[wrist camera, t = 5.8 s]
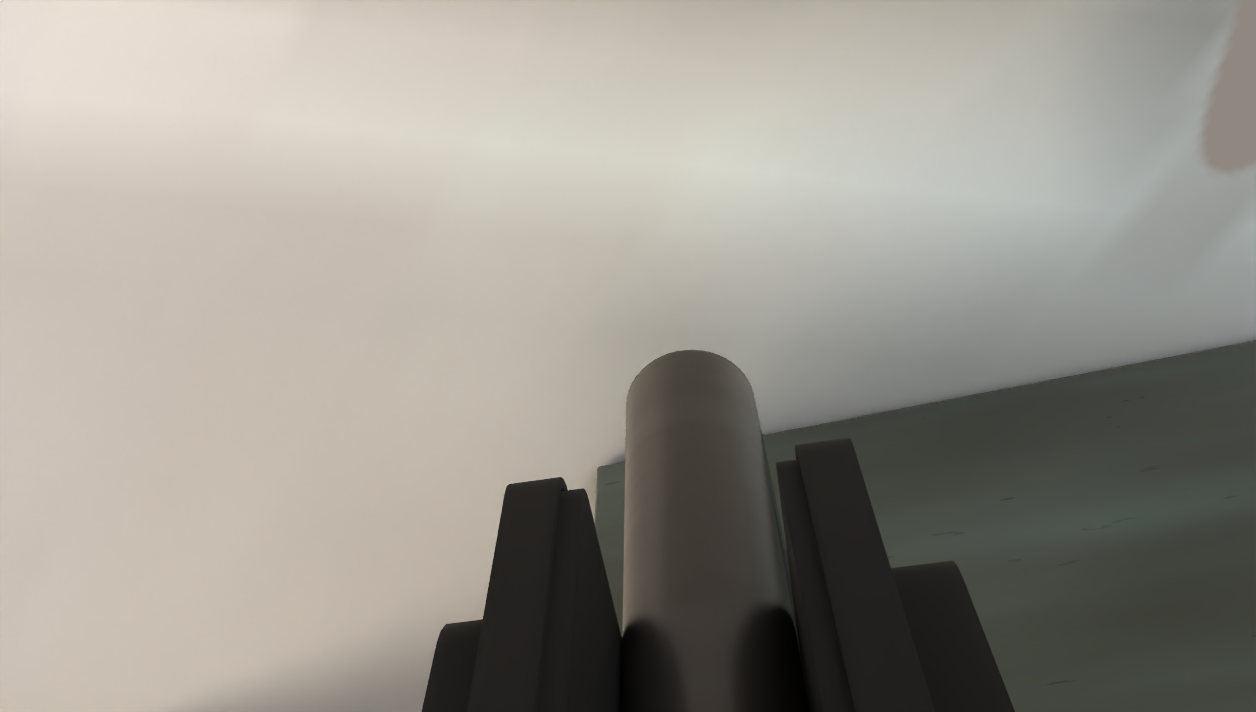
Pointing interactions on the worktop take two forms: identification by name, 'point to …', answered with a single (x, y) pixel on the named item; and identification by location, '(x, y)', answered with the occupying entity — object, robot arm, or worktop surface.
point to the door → (954, 533)
